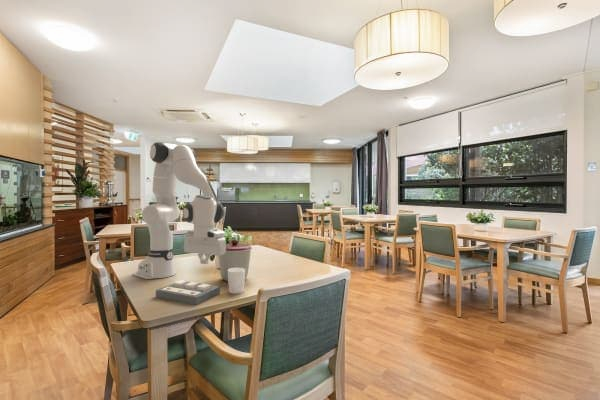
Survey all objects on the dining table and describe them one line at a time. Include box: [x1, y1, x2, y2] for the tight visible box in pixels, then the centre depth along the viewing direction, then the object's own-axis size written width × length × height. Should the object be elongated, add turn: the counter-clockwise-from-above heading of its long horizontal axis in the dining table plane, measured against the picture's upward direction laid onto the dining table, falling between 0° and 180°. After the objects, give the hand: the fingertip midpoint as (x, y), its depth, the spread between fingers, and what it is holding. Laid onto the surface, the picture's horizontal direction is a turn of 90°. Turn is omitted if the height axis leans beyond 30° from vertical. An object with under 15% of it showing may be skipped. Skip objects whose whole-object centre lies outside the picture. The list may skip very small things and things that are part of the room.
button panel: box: [155, 281, 221, 306], centre depth 128 cm, size 22×15×3 cm
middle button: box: [185, 281, 200, 289], centre depth 130 cm, size 4×4×2 cm
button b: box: [197, 283, 211, 291], centre depth 128 cm, size 4×4×2 cm
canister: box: [218, 238, 253, 282], centre depth 154 cm, size 18×18×21 cm
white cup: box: [227, 268, 246, 295], centre depth 135 cm, size 8×8×10 cm
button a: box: [173, 279, 188, 287], centre depth 133 cm, size 4×4×2 cm
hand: (204, 263), depth 128 cm, fingers closed
